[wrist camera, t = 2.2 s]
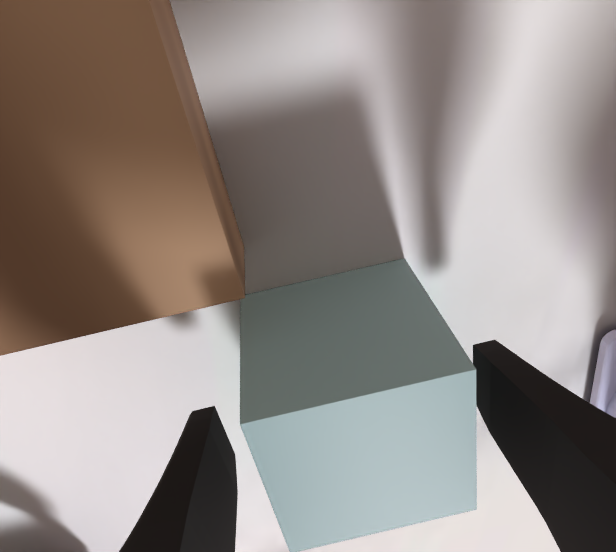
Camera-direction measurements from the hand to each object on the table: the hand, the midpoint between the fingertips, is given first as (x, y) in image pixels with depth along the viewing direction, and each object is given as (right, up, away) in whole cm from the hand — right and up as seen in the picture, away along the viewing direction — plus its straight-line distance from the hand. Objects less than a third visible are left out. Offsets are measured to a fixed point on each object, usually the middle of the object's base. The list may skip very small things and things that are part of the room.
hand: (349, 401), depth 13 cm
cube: (0, +1, +2) cm, 3 cm away
